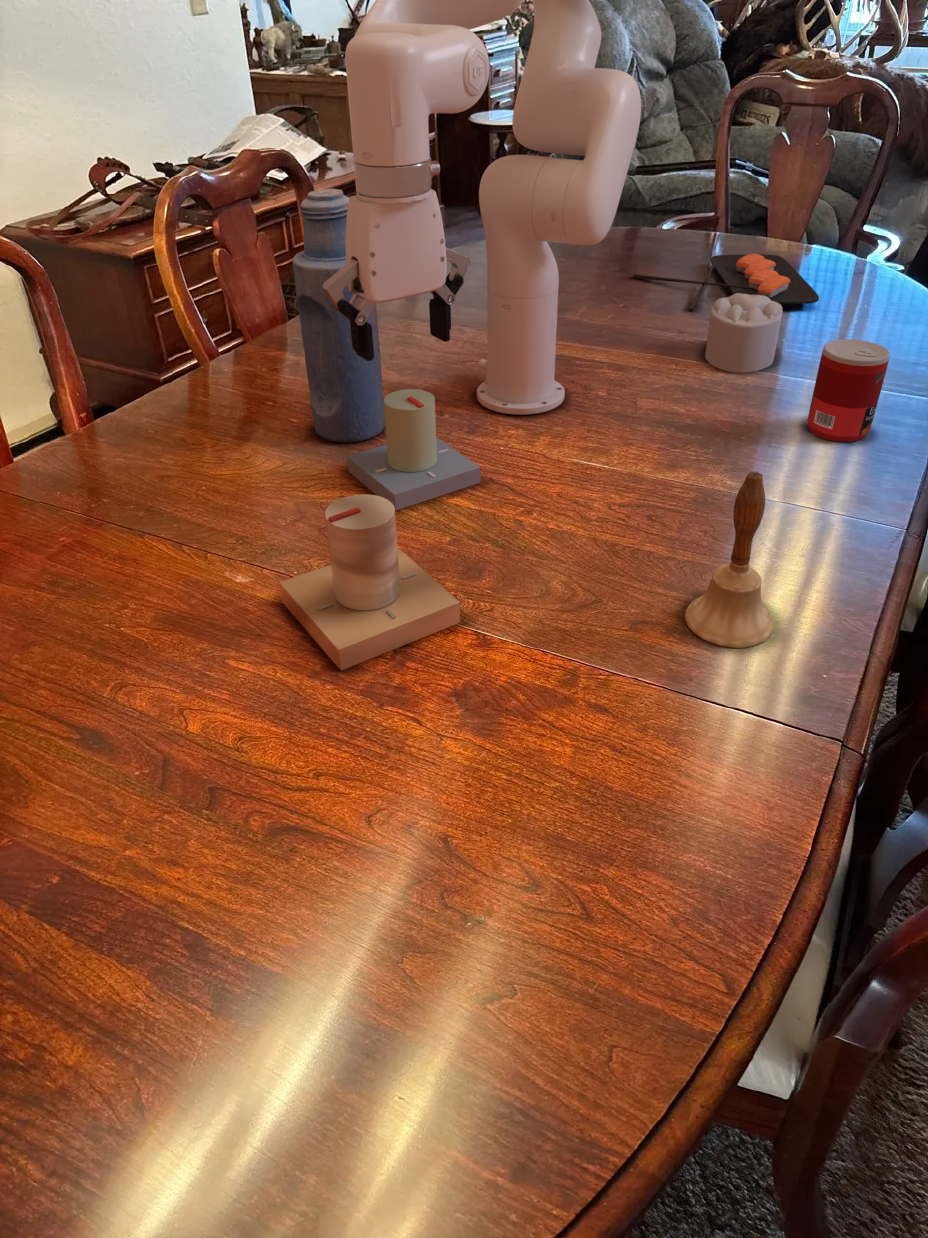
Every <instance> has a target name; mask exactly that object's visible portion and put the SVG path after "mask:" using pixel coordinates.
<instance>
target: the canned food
mask: <svg viewBox="0 0 928 1238" xmlns="http://www.w3.org/2000/svg"><path fill="white" fill-rule="evenodd" d="M890 356H891V353H890V350H889V349H888V348H886V347H885V346H883V345H880V344H878V343H876V342H871V341H867V340H862V339H836V340H832V341H831V340H830V341H828V342H827V343H825V344H824V345H823V348H822V352H821V356H820V360H819V364H818V368H817V374H816V379H815V383H814V388H813V392H812V395H811V396H812V397H811V402H810V407H809V410H808V415H807V420H806V422H807V428H808V430H809V432H810V433H812V434H813V435H814V436H817V437H818V438H821V439H824V440H827V441H832V442H838V443H839V442H841V443H851V442H858V441H861V440H863V439H864V438H866V437H867V435H868V434H869V433H870V431H871V429H872V425H873V422H874V418H875V414H876V410H877V407H878V403H879V398H880V395H881V392H882V388H883V384H884V381H885V378H886V373H887V370H888V365H889V362H890Z"/></svg>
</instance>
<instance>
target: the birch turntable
mask: <svg viewBox="0 0 928 1238" xmlns="http://www.w3.org/2000/svg"><path fill="white" fill-rule="evenodd" d="M398 560H399V574H400V588H401V589H400V594H399V596H398V597H397V599H396V600H395V601H394V602H392V603H391V604H389V605H387V606H385V607H382V608H379V609H375V610H365V611H363V610H354V609H350V608H347V607H345V606H343V605H341V604H340V603H339V602H338V601H337V599H336V597H335V592H334V584H333V576H332V568H331V564H329V565H325V566H322V567H319V568H316V569H314V570H311V571H308V572H305V573H303V574H300V575H297V576H293V577H291V578H288V579H285V580H282V581H280V582H278V583H279V589H280V595H281V601H282V604H283V605H284V606H285V608H287V610H288V611H289V612H290V613H291V614H292V616H293V617H294V618H295V619H296V620H297V621H298V623H299V624H300V625H301V626H302V627H303V628H304V629H305V631H306V632H307V633H308V634H309V636H310V637H311V638H312V639H313V640H314V642H315V643H316V644H317V645H318V646H319V647H320V648H321V649H322V651H323V652H324V653H325V654H326V656H327V657H328V658H329V659H330V660H331V661H332V663H333V664H335V666H336V667H337V668H338V669H339V670H340V671H341V672H342V671H345V670H347V669H349V668H352V667H354V666H356V665H358V664H361V663H362V664H363V663H364V662H366V661H369V660H371V659H374V658H376V657H379V656H381V655H383V654H384V655H385V654H387V653H389V652H391V651H393V650H396V649H398V648H399V649H400V648H401V647H403V646H405V645H409V644H411V643H413V642H416V641H419V640H421V639H423V638H427V637H428V636H431V635H434V634H437V633H438V632H441V631H443V630H446V629H448V628H451V627H453V626H456V625H458V624H460V623H461V602H460V601H459V600H458V599H457V598H456V597H455V596H453V595H452V594H451V593H450V592H449V591H448V590H447V589H446V588H444V587H443V585H441V584H440V583H439V582H438V581H437V580H435V579H434V577H432V576H431V575H430V574H428V572H426V571H425V569H423V568H422V567H420V566H419V564H418V563H416V562H415V561H414V560H413V559H412V558H411V557H409V556H408V555H407V554H406V553H405V552H404V551H403V550H401V549H400V548H399V547H398Z"/></svg>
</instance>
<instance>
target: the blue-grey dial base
mask: <svg viewBox="0 0 928 1238" xmlns="http://www.w3.org/2000/svg"><path fill="white" fill-rule="evenodd" d="M436 444H437V462H436V464H435V465H434V466H433V467H431V468H429V469H427V470H423V471H419V472H403V471H398V470H395V469H393V468H392V467H391V466H390V465H389V464H388V455H387V443H386V444H382V445H379V446H376V447H372V448H369V449H366V450H363V451H362V450H361V451H358V452H355V453H352V454H349V455H346V464H347V471H348V473H349V474H350V475H352V476H353V477H354V478H355V479H356V480H358V482H360V483H361V484H362V485H364V486H365V487H366V488H367V489H368V490H370V492H372V493H373V495H376V496H380V497H383V498H385V499H387V500H389V501H390V502H391V503H392V504H393V505H394V508H395V512H397V511H399V510H403V509H405V508H409V507H412V506H414V505H417V504H421V503H424V502H426V501H430V500H433V499H435V498H439V497H442V496H445V495H449V494H452V493H454V492H458V491H460V490H463V489H466V488H470V487H472V486H475V485H478V484H481V481H482V480H481V466H480V465H478V464H477V463H475V462H474V461H473V460H471V459H470V458H469V457H467V456H465V455H464V454H462V453H461V452H459V451H457V450H456V449H455V448H453V447H452V446H450V444H447V443H446V442H445V441H443V440H442V439H440V438H438V436H436Z"/></svg>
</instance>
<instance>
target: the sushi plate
mask: <svg viewBox="0 0 928 1238" xmlns="http://www.w3.org/2000/svg"><path fill="white" fill-rule="evenodd" d="M710 263H711V267H710V269H709V271H708V273H707V275H706V276H705V278H704V281H700V280H699V281H697V280H690V279H682V278H681V279H680V278H671V277H663V276H655V275H645V274H633V275H632V278H633V279H639V280H649V281H659V282H670V283H672V282H673V283H683V284H684V283H685V284H695V285H701V286H700V288H699V290H698V291H697V293H696V295H695V297H694V299H693V301H692V303H691V305H690V307H689V311H690V312H694V310H695V307H696V305H697V303H698V301H699V299H700V298H701V295H702V293H703V290H704V288H705V286H715V287H725V288H727V289H728V291H730V293H731V294H732V295H733V294H737V293H740V294H748V295H763V296H766V297H768V298H769V299H770V300H771V301H774V302H777V303H779V304H781V306H782V308H786V307H789V308H790V307H794V306H796V305H804V304H805V305H806V304H814V303H815V304H816V303H818V302H819V299H820V296H819V294H818V293H817V291H815V289H813V287H812V286H811V285H810V284H809V283H808V281H806V280H805V279H804V278H803V276H801V274H800V273H799V272H798V271H797V270H796V269H795V268H794V267H793V266H792V264H790V262H788V261H787V260H786V259H785V258H784V257H782V256H780V255H776V254H762V253H761V254H758V253H749V254H719V255H713V256H711V257H710ZM713 270H715V271H716V273H717V274H718V275H719V277H720V279H721V280H722V282H723V283H718V282H717V283H716V282H708V279H709V277H710V276H711V273H712V271H713Z"/></svg>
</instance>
